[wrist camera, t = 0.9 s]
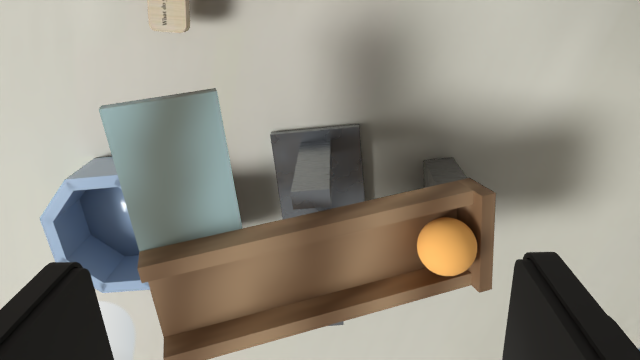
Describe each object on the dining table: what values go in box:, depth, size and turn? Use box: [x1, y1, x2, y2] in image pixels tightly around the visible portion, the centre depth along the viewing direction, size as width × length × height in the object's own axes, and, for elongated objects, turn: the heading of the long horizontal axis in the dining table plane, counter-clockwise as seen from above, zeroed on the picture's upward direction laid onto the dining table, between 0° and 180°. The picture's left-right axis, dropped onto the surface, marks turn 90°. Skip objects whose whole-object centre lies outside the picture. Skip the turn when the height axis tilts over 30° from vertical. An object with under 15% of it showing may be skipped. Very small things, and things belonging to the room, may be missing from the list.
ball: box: [417, 217, 477, 276], centre depth 26 cm, size 3×3×3 cm
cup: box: [40, 157, 150, 293], centre depth 33 cm, size 9×9×4 cm
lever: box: [99, 88, 496, 360], centre depth 24 cm, size 18×13×3 cm
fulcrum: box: [270, 124, 467, 326], centre depth 30 cm, size 19×10×9 cm, turn 96°
